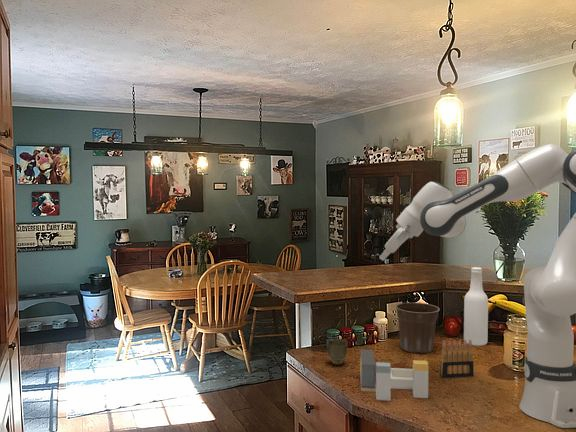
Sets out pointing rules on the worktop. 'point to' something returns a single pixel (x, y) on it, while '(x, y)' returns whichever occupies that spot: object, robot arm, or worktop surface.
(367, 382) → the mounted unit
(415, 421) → the worktop surface
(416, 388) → the block
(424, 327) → the plant pot
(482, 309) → the white bottle
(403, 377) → the parts tray
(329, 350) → the cup
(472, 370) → the ammunition clip
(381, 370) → the block
